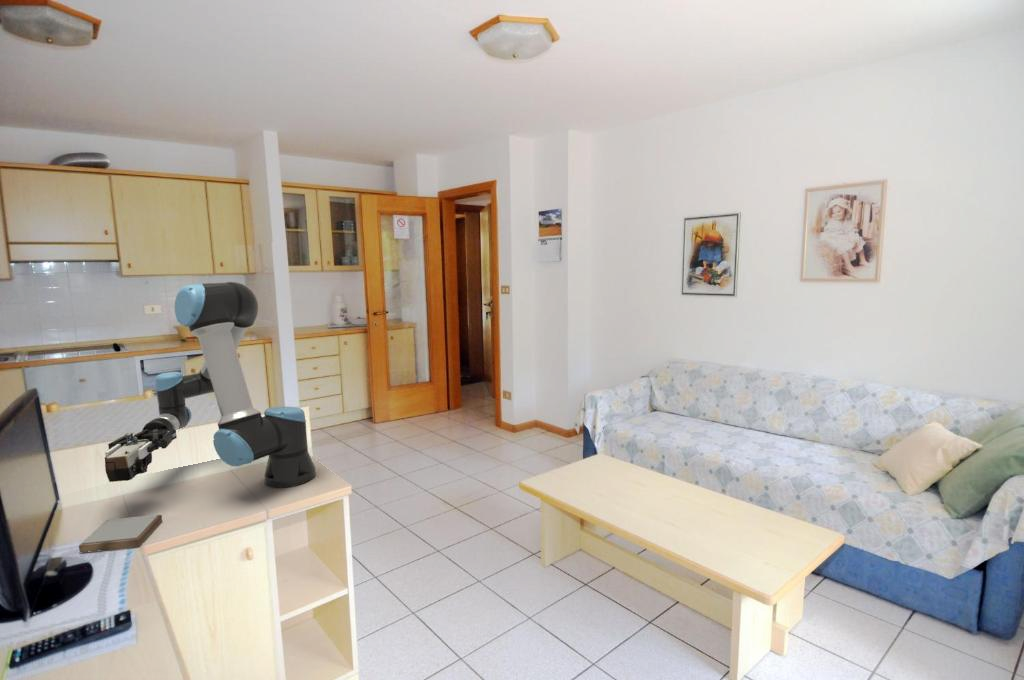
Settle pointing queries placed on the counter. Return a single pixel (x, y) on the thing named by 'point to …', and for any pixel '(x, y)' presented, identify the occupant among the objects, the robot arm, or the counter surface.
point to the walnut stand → (121, 533)
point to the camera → (127, 460)
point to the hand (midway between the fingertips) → (123, 455)
